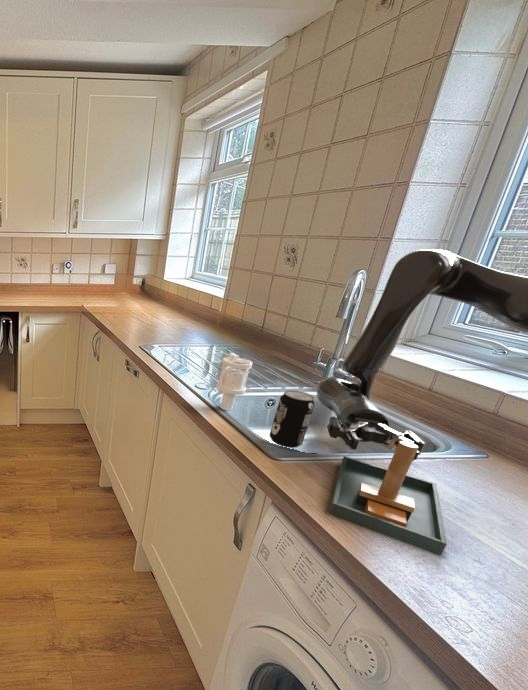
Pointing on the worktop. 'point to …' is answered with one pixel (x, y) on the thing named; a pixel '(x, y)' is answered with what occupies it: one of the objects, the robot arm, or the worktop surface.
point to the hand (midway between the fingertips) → (383, 450)
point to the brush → (392, 482)
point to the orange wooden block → (386, 513)
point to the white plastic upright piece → (232, 379)
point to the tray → (427, 514)
